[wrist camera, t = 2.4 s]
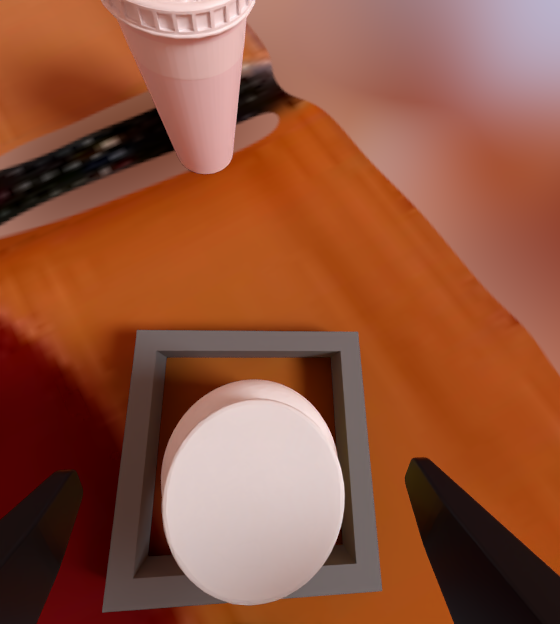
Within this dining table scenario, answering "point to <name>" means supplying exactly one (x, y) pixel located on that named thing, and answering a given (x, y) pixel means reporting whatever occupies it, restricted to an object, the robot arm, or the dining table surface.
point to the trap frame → (144, 450)
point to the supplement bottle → (251, 492)
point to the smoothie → (190, 70)
